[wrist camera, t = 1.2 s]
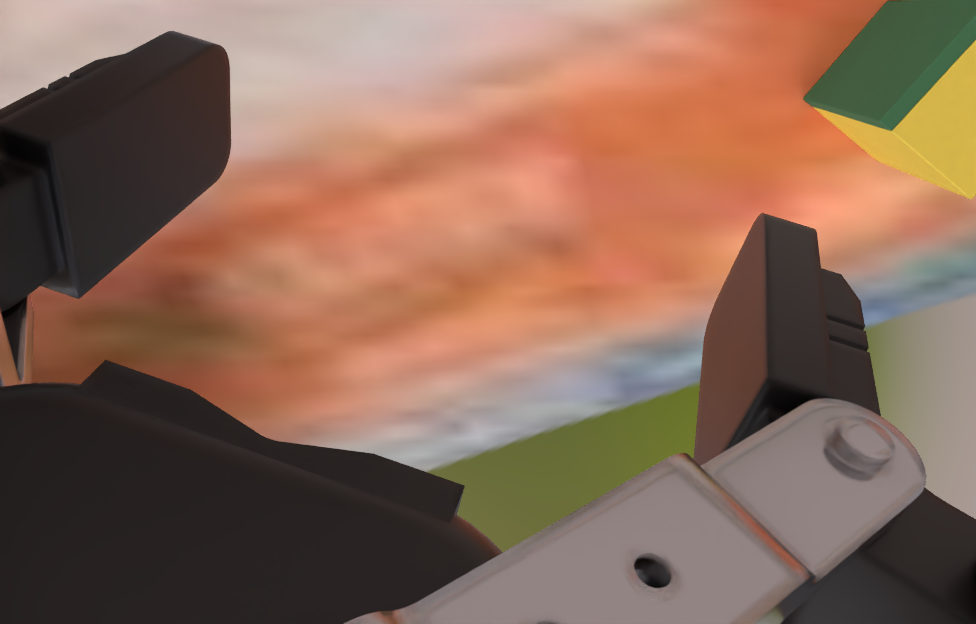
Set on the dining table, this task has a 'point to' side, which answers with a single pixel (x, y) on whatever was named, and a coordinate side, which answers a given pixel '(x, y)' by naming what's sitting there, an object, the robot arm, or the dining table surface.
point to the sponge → (910, 91)
